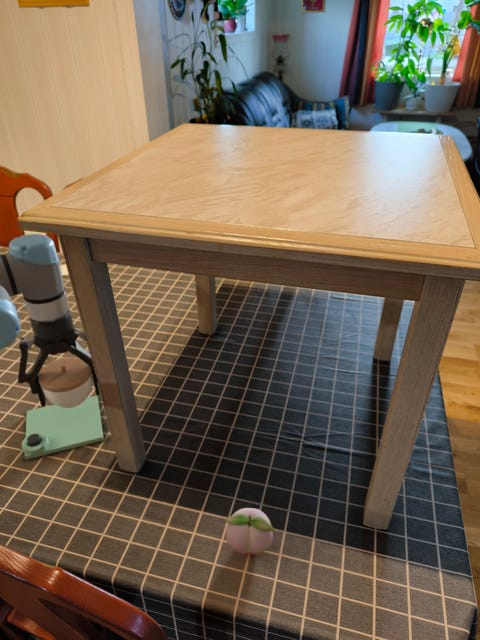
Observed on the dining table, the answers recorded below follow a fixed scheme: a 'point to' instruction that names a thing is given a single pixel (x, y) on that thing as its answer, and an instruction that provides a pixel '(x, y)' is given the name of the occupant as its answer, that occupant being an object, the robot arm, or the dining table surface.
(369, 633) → the dining table surface
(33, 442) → the button
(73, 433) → the scale
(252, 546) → the decorative fruit
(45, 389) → the trinket box
